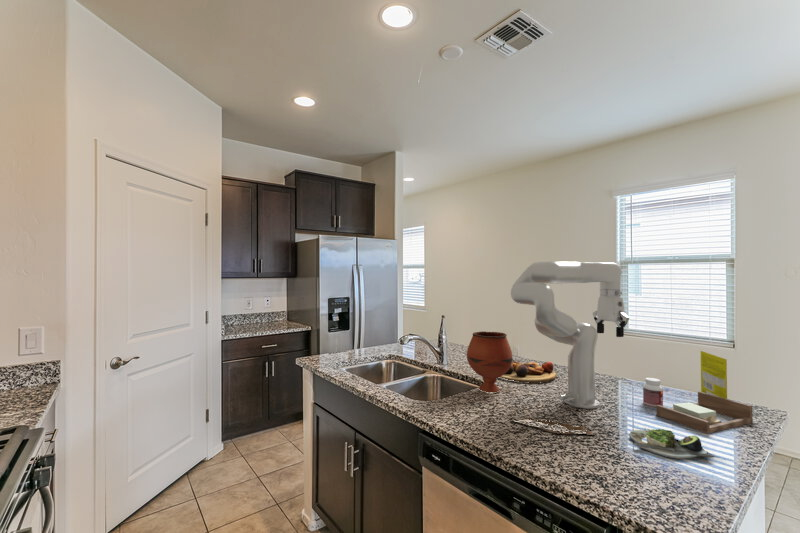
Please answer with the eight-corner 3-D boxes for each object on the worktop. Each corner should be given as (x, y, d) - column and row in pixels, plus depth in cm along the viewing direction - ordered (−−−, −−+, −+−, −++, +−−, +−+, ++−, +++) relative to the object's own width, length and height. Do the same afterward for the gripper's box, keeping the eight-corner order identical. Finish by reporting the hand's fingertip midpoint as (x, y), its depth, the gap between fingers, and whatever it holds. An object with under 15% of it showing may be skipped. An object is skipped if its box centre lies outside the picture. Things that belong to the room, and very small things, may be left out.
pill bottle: (665, 412, 133) (665, 382, 133) (645, 410, 135) (645, 380, 135) (660, 406, 139) (659, 378, 139) (641, 404, 141) (641, 376, 141)
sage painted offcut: (699, 418, 117) (699, 413, 117) (673, 408, 125) (673, 404, 125) (716, 415, 119) (716, 411, 119) (689, 406, 127) (689, 402, 127)
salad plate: (655, 465, 97) (655, 447, 97) (612, 435, 115) (612, 420, 115) (723, 463, 98) (723, 446, 98) (670, 433, 116) (670, 419, 116)
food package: (729, 415, 131) (728, 359, 131) (725, 414, 131) (724, 359, 132) (702, 400, 146) (702, 350, 146) (699, 400, 146) (699, 350, 147)
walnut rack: (707, 438, 112) (706, 415, 112) (656, 419, 127) (656, 399, 127) (752, 426, 121) (752, 405, 121) (700, 410, 135) (699, 391, 135)
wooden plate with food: (557, 371, 191) (556, 355, 191) (555, 387, 162) (554, 369, 162) (495, 365, 204) (495, 351, 205) (483, 380, 176) (483, 363, 176)
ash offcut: (705, 423, 116) (704, 418, 116) (670, 413, 125) (670, 408, 125) (716, 418, 120) (716, 414, 120) (682, 409, 129) (682, 404, 129)
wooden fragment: (594, 429, 119) (594, 426, 119) (594, 443, 109) (594, 440, 109) (513, 415, 131) (513, 412, 131) (507, 426, 121) (507, 423, 121)
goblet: (521, 391, 156) (521, 333, 157) (494, 402, 144) (494, 338, 144) (484, 381, 171) (484, 328, 171) (457, 390, 158) (457, 332, 159)
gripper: (635, 294, 144) (635, 338, 143) (600, 292, 160) (600, 331, 160) (620, 294, 142) (620, 338, 141) (586, 292, 158) (586, 332, 158)
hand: (609, 334), depth 151 cm, fingers open, 9 cm apart
